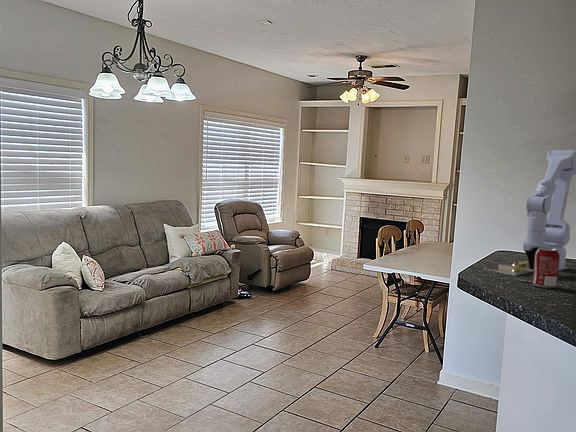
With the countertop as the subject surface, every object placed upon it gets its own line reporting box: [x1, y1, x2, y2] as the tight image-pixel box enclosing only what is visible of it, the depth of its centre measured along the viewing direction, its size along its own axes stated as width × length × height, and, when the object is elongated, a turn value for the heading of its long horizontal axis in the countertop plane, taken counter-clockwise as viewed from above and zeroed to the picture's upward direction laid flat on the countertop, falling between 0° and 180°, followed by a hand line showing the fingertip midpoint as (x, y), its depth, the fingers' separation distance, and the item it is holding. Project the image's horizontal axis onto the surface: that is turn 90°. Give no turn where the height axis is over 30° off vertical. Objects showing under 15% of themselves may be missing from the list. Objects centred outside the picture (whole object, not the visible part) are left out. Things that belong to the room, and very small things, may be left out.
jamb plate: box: [482, 264, 534, 277], centre depth 182 cm, size 13×12×1 cm
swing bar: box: [511, 260, 531, 272], centre depth 179 cm, size 11×2×3 cm, turn 131°
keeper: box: [485, 261, 510, 272], centre depth 181 cm, size 4×7×2 cm, turn 41°
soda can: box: [532, 247, 560, 289], centre depth 158 cm, size 7×7×12 cm
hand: (533, 269), depth 179 cm, fingers closed
